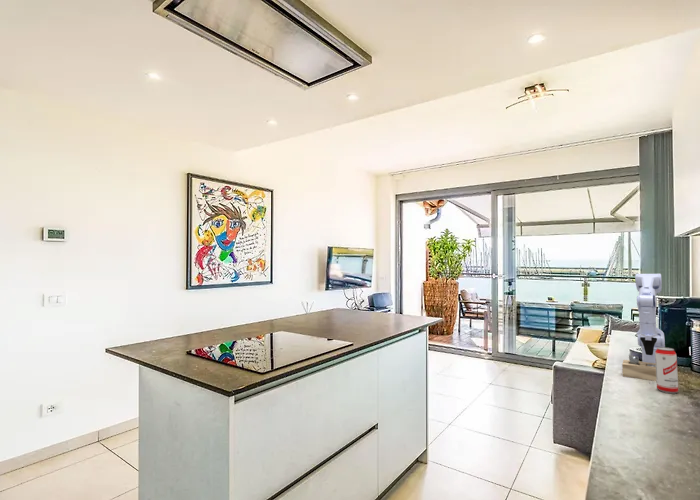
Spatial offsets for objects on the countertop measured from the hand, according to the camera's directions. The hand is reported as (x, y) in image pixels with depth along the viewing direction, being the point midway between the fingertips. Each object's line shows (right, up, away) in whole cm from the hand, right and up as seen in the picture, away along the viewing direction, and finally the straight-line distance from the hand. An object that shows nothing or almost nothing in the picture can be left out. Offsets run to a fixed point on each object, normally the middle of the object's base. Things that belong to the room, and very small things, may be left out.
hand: (649, 354), depth 161 cm
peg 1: (-4, -7, +3) cm, 8 cm away
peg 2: (+1, -9, -1) cm, 9 cm away
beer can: (-8, -9, -19) cm, 22 cm away
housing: (-2, -10, +1) cm, 10 cm away
